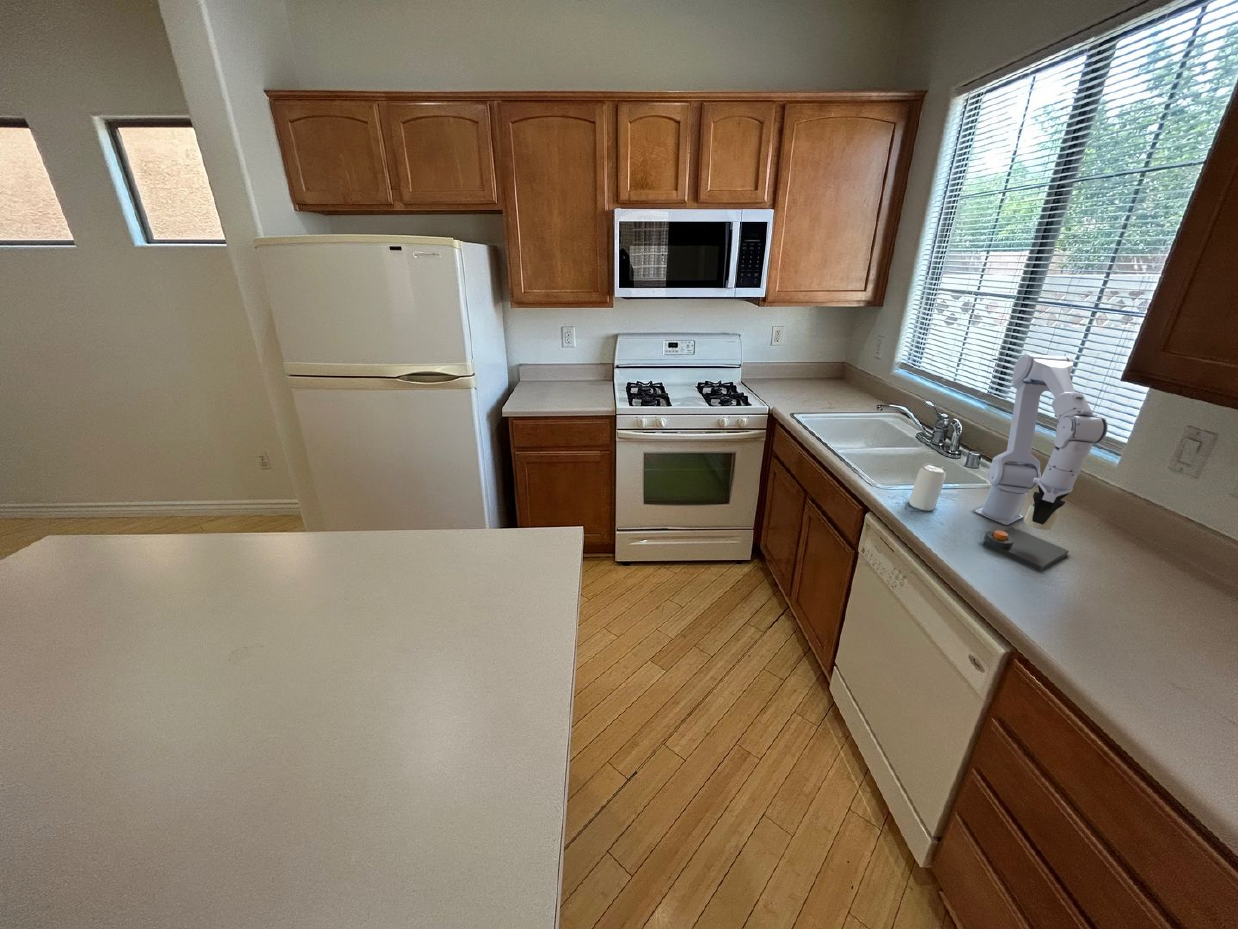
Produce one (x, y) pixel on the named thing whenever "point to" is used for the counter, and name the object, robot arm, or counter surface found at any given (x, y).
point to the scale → (1025, 548)
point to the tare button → (1000, 535)
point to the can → (927, 487)
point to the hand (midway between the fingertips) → (1039, 518)
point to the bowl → (1045, 526)
